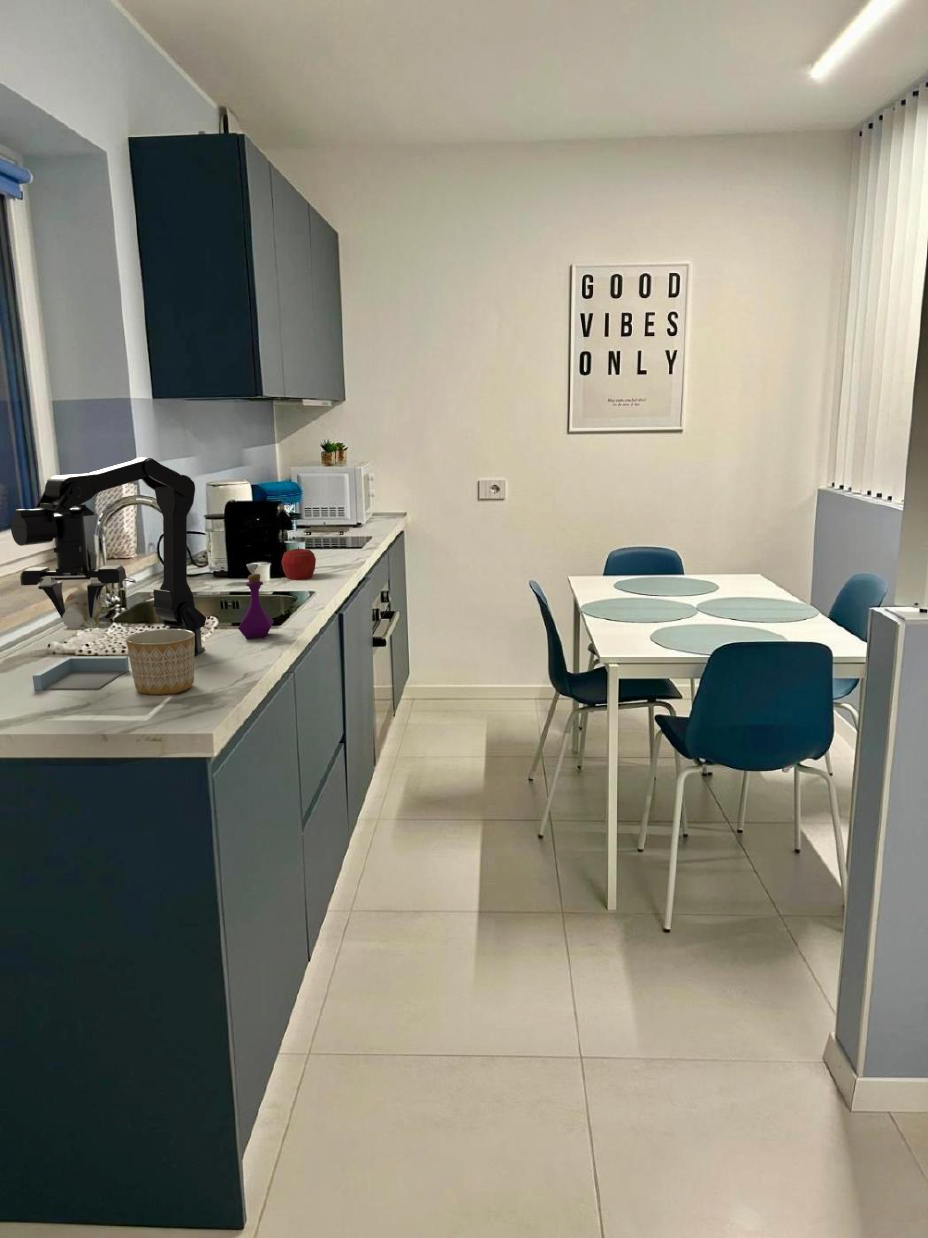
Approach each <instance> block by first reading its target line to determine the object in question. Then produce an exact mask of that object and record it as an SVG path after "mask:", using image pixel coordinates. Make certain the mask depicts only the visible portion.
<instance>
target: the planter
mask: <svg viewBox="0 0 928 1238" xmlns="http://www.w3.org/2000/svg"><path fill="white" fill-rule="evenodd" d="M126 646H127V647H126V648H127V652H128V656H129V657H128V659H129V662H130V668H131V673H132V677H133V679H132V680H133V683H134V684H133V685H134V687H135V689H136V690H137V691H138V692H139V693H140V694H144V695H150V696H162V695H163V696H164V695H170V694H171V695H172V694H178V693H181V692H184V691H186V690H188V689H190V688H191V687H192V686H193V684H194V682H195V656H194V649H195V634H194V632H192V631H189V630H183V629H168V628H163V629H162V628H161V629H153V630H144V631H141V632H136V633H133V634H131V635H129V636H127V637H126Z"/></svg>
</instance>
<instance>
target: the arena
mask: <svg viewBox="0 0 928 1238" xmlns="http://www.w3.org/2000/svg"><path fill="white" fill-rule="evenodd" d="M74 671H124V673H127V672H129V671H130V667H129V657H128V656H65V657H63V658H62V659H60V660H58V661H56V662H53V664H51V665H49V666H47V667H45V668H43V669H41V670H40V671H38V672H36V673H35V674H33V675H32V683H33V690H34V691H43V690H46V687H48V686H50V685H52V684H53V683H55V682H57V681H58V680H60V679H62V678H63V677H65V676H67V675H68V674H70V673H72V672H74Z"/></svg>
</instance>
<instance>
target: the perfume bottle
mask: <svg viewBox="0 0 928 1238" xmlns="http://www.w3.org/2000/svg"><path fill="white" fill-rule="evenodd" d="M246 567H247V570H248V571H249V573H250V574H249V575H248V576H247V578H248V581H247V582H246V583H245V585H246V586H247V587H248V589H249V590H250V599H249V600H250V602H249V606H248V609H247V611H246V613H245V615H244V617H243V618H242V620H241V622H240V624H239V625H238V629H237V630H239V631H240V633H241V634H242V636H243V638H245V639H246V640H254V639H256V640H257V639H266V638H267V636H268V634H269V632H270V630H271V628H272V627H273V624H274V619H272V618H271V616H269V615H268V614H267V612H266V611H265V610H264V608H263V607H262V604H261V601H260V588H261V586H263V585H264V582H263V581H261V574H260V573H255V571H256V570H257V568H258V567H259V564H258V563H247V564H246Z"/></svg>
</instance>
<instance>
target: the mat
mask: <svg viewBox="0 0 928 1238" xmlns="http://www.w3.org/2000/svg"><path fill="white" fill-rule="evenodd" d="M124 673H125V672H124V671H74V672H72V673H70V674H68V675H67V676H65V677H63V678H62V679H60V680H58V681H57V682H55V683H53V684H51V685H50V686H48V687H46V688H45V690H46V691H48V690H49V691H50V690H52V691H53V690H54V691H55V690H56V691H57V690H62V691H63V690H64V691H65V690H68V691H69V690H72V691H73V690H75V691H77V690H82V691H83V690H86V691H87V690H88V691H89V690H90V691H91V690H93V691H94V690H97V691H99V690H100V689H102V688H103V687H105V686H107V685H108V684H110V683H111V682H112V681H114V680H115V679H117V678H118V677H120V676H121V675H123V674H124Z"/></svg>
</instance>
